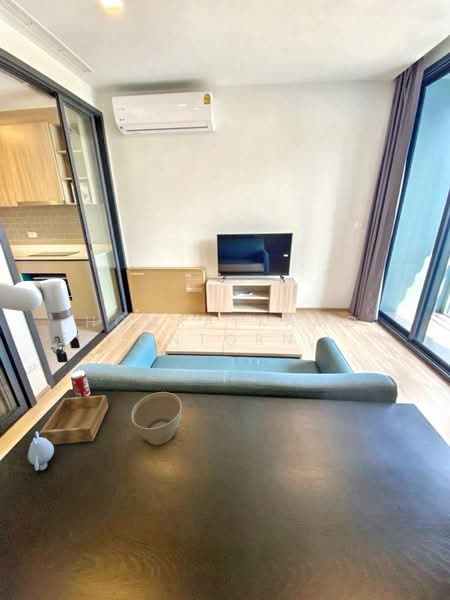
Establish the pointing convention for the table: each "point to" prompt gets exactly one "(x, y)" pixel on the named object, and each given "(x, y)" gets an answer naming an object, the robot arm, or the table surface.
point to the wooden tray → (75, 420)
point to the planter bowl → (157, 417)
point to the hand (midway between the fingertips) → (69, 354)
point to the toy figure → (40, 452)
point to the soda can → (80, 384)
